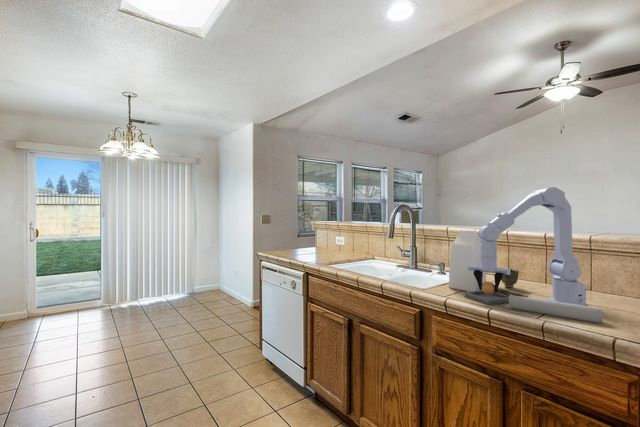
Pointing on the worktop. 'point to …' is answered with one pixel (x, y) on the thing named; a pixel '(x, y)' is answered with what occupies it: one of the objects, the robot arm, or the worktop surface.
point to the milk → (465, 261)
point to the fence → (510, 292)
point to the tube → (556, 308)
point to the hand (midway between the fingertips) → (488, 290)
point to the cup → (510, 279)
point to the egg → (488, 288)
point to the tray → (487, 297)
